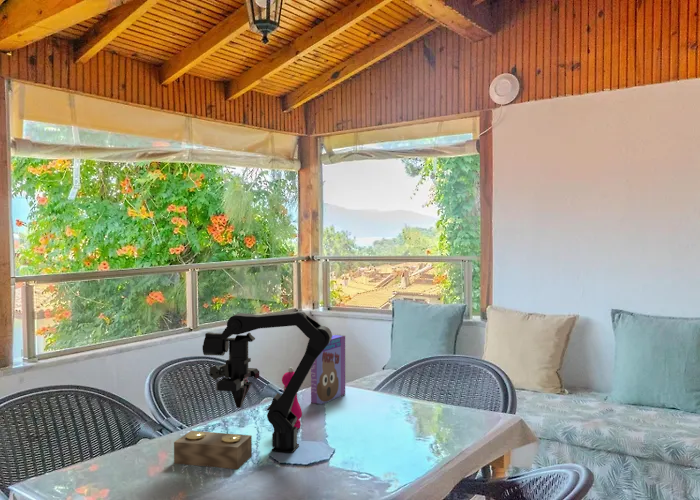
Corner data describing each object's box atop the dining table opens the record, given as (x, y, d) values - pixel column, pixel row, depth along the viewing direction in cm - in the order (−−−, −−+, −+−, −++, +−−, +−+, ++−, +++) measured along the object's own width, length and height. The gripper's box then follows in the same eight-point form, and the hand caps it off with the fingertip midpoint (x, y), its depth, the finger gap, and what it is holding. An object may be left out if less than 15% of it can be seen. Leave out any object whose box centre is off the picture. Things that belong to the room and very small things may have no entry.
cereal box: (321, 404, 225) (321, 341, 225) (311, 403, 228) (311, 340, 227) (345, 394, 240) (345, 335, 240) (335, 392, 243) (335, 334, 242)
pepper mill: (298, 431, 194) (298, 370, 194) (277, 429, 196) (277, 369, 195) (304, 424, 201) (304, 365, 201) (284, 423, 203) (283, 364, 202)
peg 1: (208, 454, 172) (208, 432, 172) (199, 460, 167) (199, 438, 167) (191, 452, 174) (191, 430, 173) (182, 459, 168) (182, 436, 168)
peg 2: (243, 457, 170) (243, 435, 170) (236, 464, 165) (236, 441, 165) (226, 455, 171) (226, 433, 171) (218, 462, 166) (218, 439, 166)
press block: (251, 456, 172) (251, 435, 172) (237, 469, 162) (237, 447, 162) (191, 450, 176) (191, 430, 176) (174, 463, 166) (173, 441, 166)
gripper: (227, 349, 190) (227, 397, 190) (199, 360, 171) (199, 414, 172) (259, 350, 187) (260, 400, 187) (235, 362, 169) (235, 417, 169)
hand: (238, 407), depth 179 cm, fingers closed
